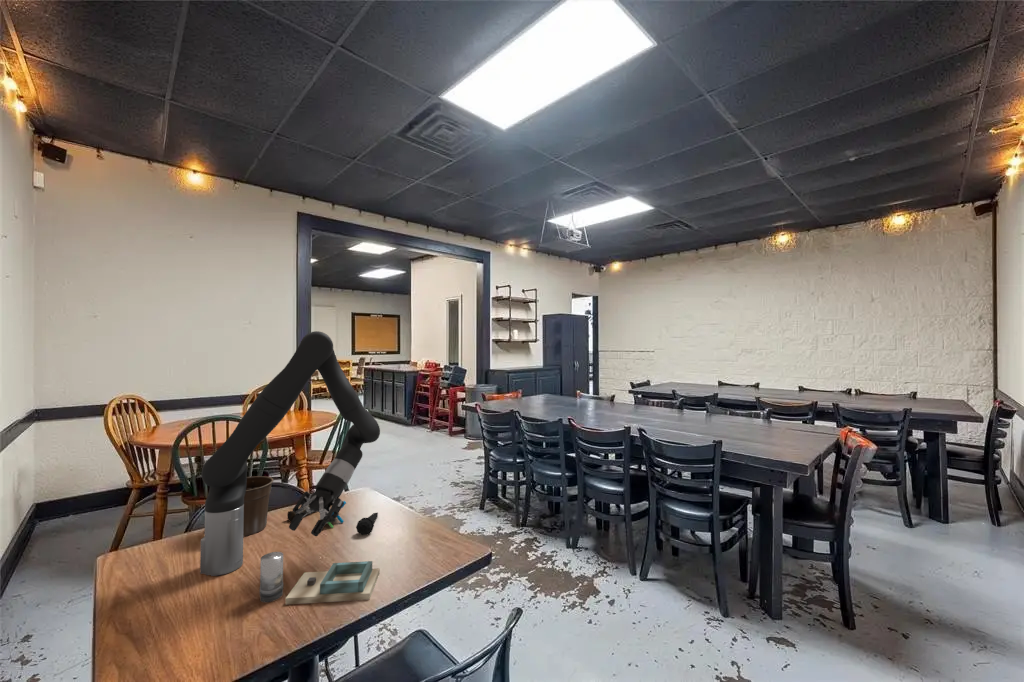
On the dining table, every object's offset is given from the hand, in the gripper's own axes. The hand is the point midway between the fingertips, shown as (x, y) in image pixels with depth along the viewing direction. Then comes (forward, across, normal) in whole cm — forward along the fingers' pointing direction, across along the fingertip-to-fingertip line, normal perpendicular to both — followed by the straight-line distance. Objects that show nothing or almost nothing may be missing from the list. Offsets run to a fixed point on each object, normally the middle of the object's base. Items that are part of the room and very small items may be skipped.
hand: (302, 532), depth 114 cm
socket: (+15, 0, +3) cm, 15 cm away
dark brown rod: (-15, -37, +34) cm, 52 cm away
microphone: (-15, -7, +34) cm, 38 cm away
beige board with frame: (+9, +12, +9) cm, 17 cm away
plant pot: (-1, -44, +19) cm, 48 cm away
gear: (-13, -21, +31) cm, 39 cm away
